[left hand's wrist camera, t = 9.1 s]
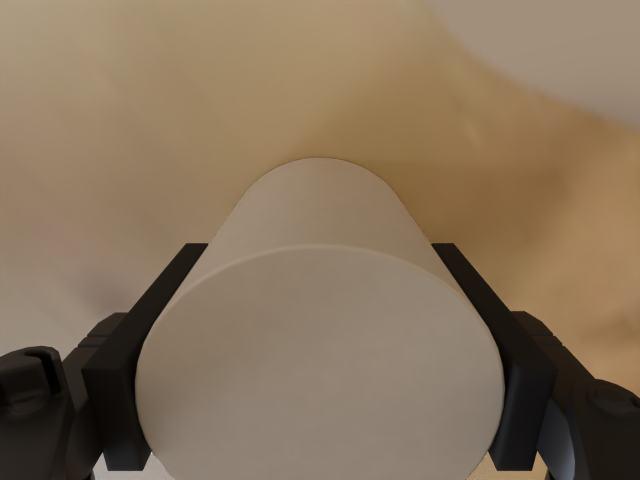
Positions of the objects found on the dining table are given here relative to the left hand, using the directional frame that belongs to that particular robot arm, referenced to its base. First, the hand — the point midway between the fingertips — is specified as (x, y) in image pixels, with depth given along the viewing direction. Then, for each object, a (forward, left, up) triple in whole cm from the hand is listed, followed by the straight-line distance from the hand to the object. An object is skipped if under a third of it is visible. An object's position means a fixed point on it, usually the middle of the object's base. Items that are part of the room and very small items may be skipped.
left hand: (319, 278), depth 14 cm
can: (0, 0, -3) cm, 3 cm away
